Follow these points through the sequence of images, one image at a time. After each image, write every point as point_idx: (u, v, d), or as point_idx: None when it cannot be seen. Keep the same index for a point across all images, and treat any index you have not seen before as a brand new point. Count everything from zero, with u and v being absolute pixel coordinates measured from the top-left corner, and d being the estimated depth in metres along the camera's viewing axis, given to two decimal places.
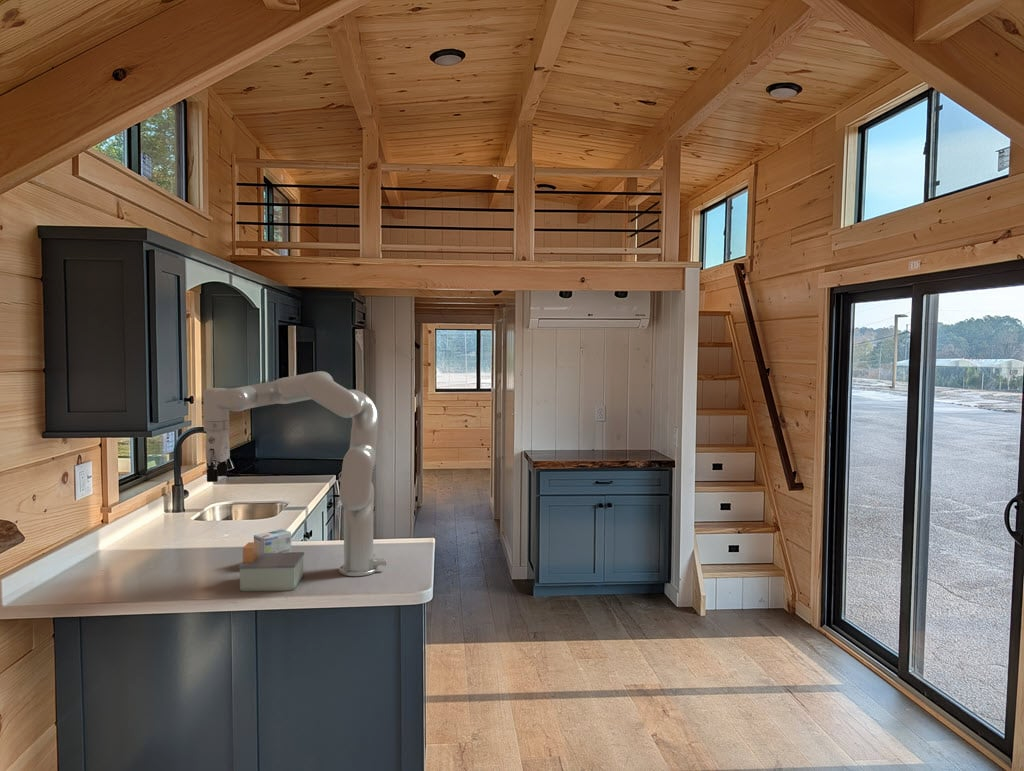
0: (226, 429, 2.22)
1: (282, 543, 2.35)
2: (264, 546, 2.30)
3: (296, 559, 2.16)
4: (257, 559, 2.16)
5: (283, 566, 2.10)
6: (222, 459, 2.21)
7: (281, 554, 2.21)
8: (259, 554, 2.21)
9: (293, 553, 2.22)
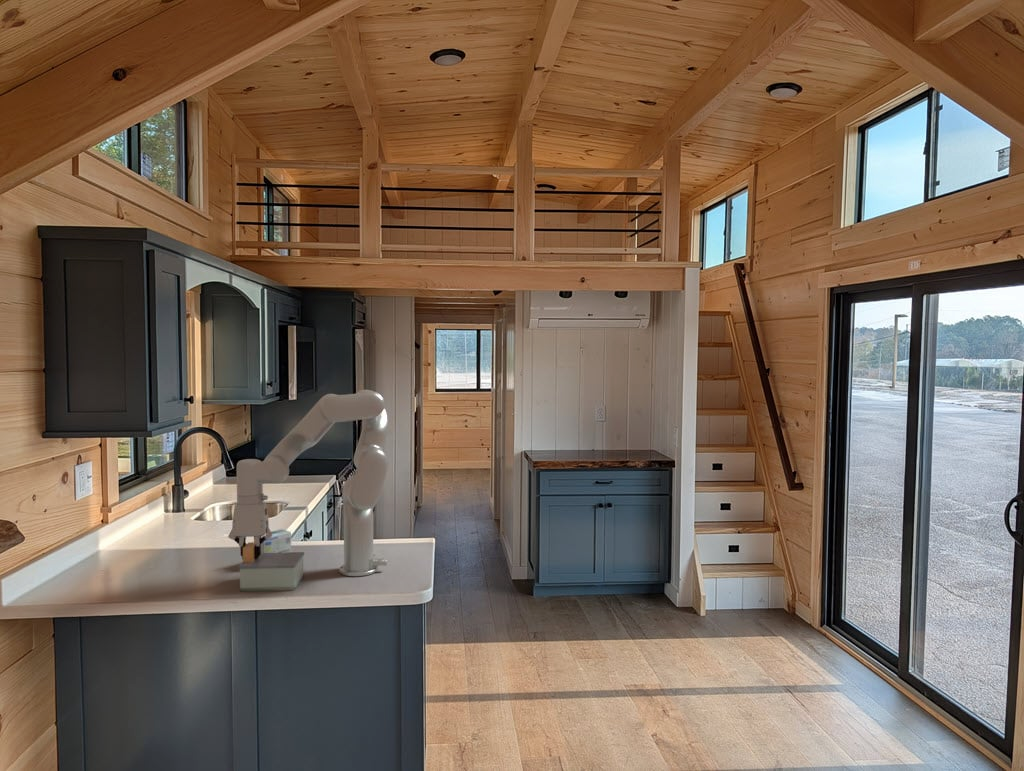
0: None
1: (282, 543, 2.35)
2: (264, 546, 2.30)
3: (296, 559, 2.16)
4: (257, 559, 2.16)
5: (283, 566, 2.10)
6: None
7: (281, 554, 2.21)
8: None
9: (293, 553, 2.22)
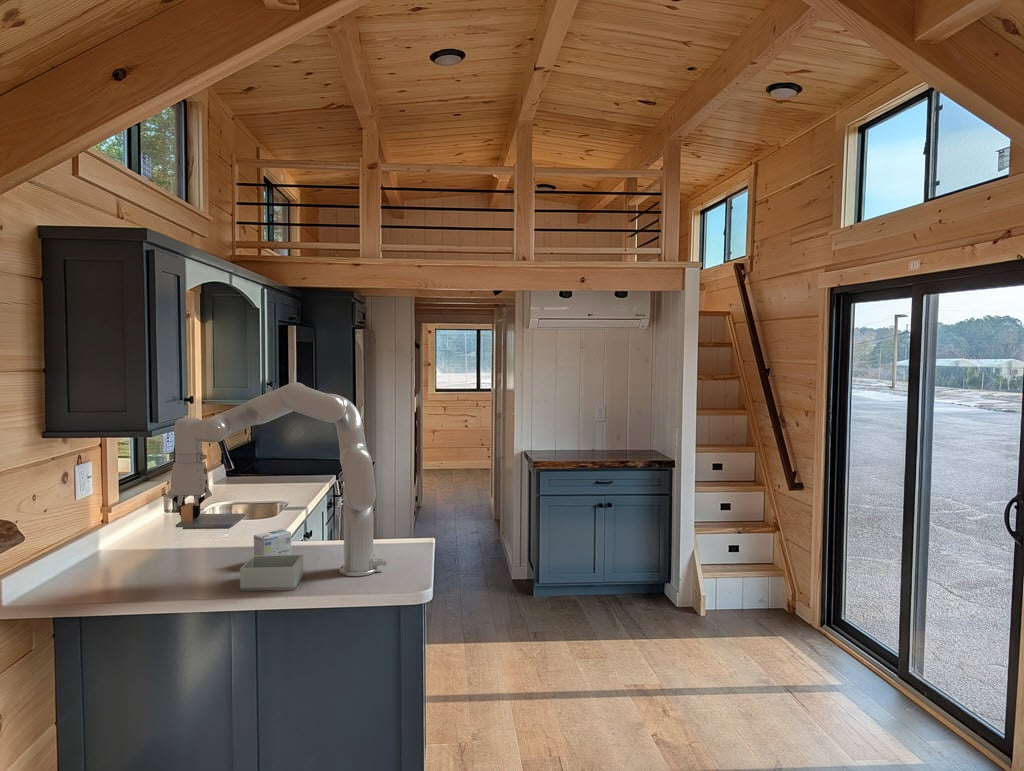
0: None
1: (282, 543, 2.35)
2: (264, 546, 2.30)
3: (236, 519, 2.14)
4: (196, 519, 2.13)
5: (221, 525, 2.08)
6: None
7: (222, 515, 2.19)
8: (200, 515, 2.19)
9: (234, 514, 2.20)
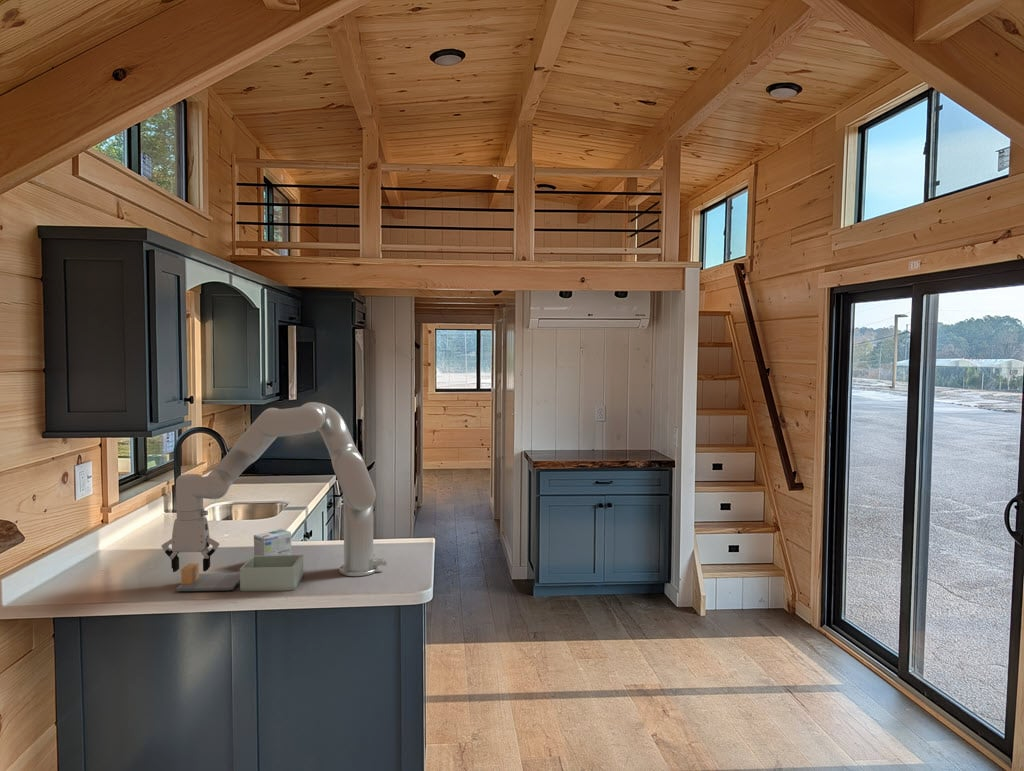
0: None
1: (282, 543, 2.35)
2: (264, 546, 2.30)
3: (236, 580, 2.15)
4: (196, 580, 2.14)
5: (221, 588, 2.09)
6: None
7: (222, 575, 2.20)
8: (200, 575, 2.20)
9: (235, 574, 2.21)
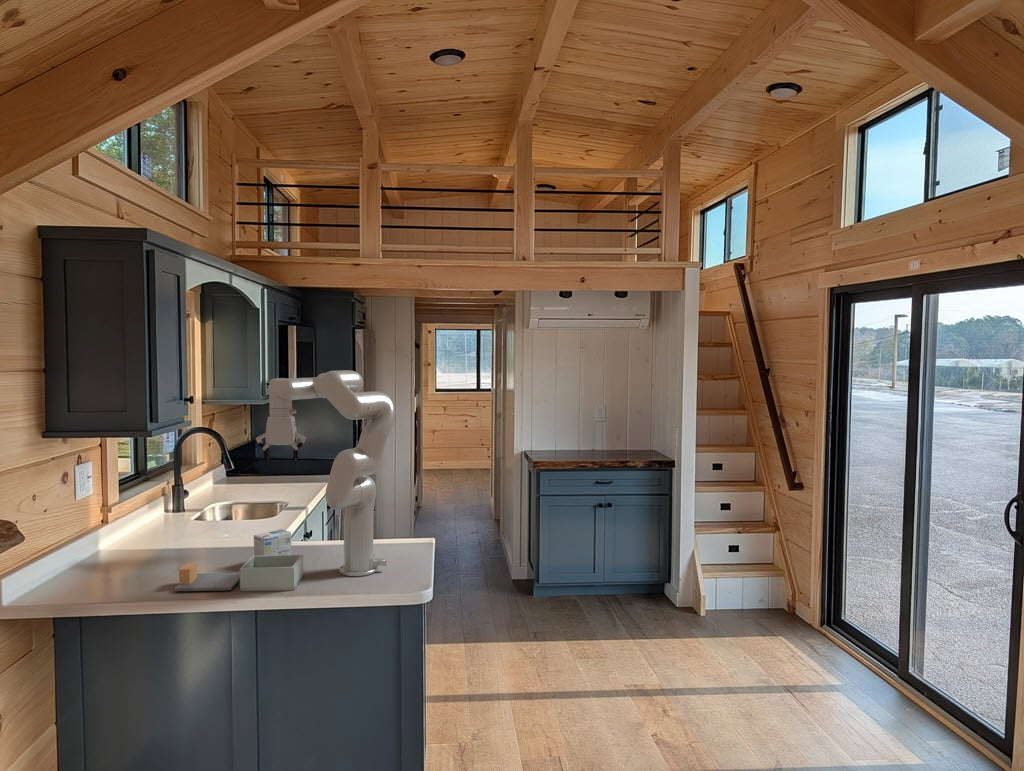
0: None
1: (282, 543, 2.35)
2: (264, 546, 2.30)
3: (234, 580, 2.15)
4: (194, 580, 2.14)
5: (219, 588, 2.09)
6: None
7: (220, 575, 2.20)
8: (198, 575, 2.20)
9: (233, 574, 2.21)
